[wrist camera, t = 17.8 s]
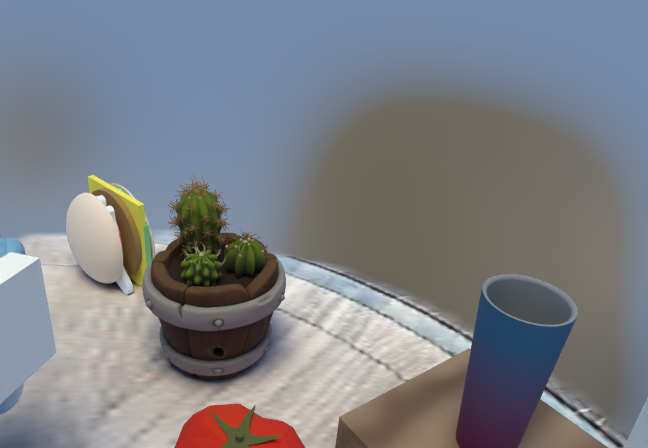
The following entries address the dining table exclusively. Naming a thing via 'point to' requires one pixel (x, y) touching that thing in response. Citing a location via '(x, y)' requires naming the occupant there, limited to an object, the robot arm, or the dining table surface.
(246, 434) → the tomato
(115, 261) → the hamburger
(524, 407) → the cup
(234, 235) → the flowerpot
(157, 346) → the dining table surface
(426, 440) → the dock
